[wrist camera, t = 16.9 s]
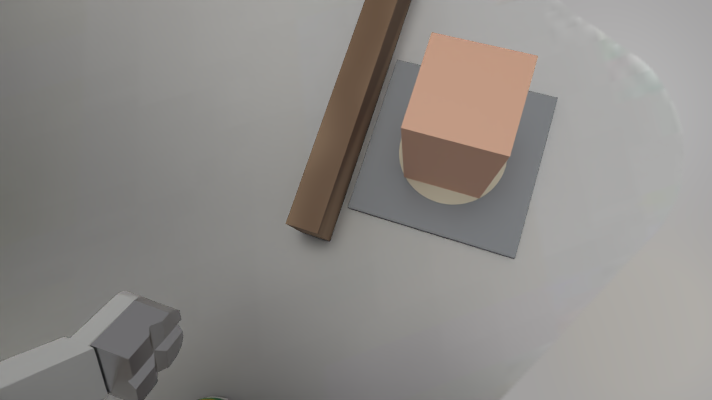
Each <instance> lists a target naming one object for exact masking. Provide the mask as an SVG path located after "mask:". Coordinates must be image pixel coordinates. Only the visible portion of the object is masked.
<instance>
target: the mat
mask: <svg viewBox="0 0 712 400" xmlns="http://www.w3.org/2000/svg"><path fill="white" fill-rule="evenodd" d="M420 67H421V65H418V64H413V63H409V62H405V61H401V60H397V62H396V65H395V68H394V71H393V74H392V77H391V80H390V83H389V86H388V89H387V92H386V95H385V98H384V101H383V104H382V107H381V110H380V113H379V116H378V119H377V122H376V125H375V128H374V131H373V134H372V136H371V139H370V142H369V145H368V148H367V151H366V154H365V157H364V160H363V163H362V166H361V169H360V172H359V175H358V178H357V181H356V184H355V187H354V190H353V193H352V196H351V199H350V202H349V205H348V208H350V209H353V210H356V211H360V212H363V213H366V214H369V215H373V216H376V217H379V218H383V219H386V220H389V221H392V222H396V223H399V224H402V225H405V226H409V227H412V228H415V229H418V230H422V231H425V232H428V233H432V234H435V235H438V236H441V237H445V238H448V239H451V240H454V241H458V242H461V243H464V244H468V245H471V246H474V247H477V248H481V249H484V250H487V251H490V252H494V253H497V254H500V255H503V256H507V257H510V258H513V259H514V258H515V256H516V252H517V248H518V245H519V241H520V237H521V233H522V230H523V226H524V222H525V218H526V215H527V211H528V207H529V203H530V200H531V196H532V192H533V188H534V185H535V181H536V177H537V173H538V170H539V166H540V162H541V158H542V155H543V151H544V147H545V143H546V140H547V136H548V132H549V128H550V125H551V121H552V117H553V113H554V110H555V106H556V102H557V97H552V96H548V95H544V94H540V93H535V92H531V91H528V94H527V97H526V101H525V105H524V108H523V112H522V115H521V119H520V123H519V126H518V130H517V133H516V137H515V141H514V144H513V148H512V151H511V155H510V157H509V159H508V160H507V161H506V163H505V164H504V165H503V167H502V168H501V170H500V171H499V172H498V174H497V175H496V176H495V178H494V179H493V180H492V182H491V183H490V184H489V186H488V187H487V189H486V190H485V191H484V193H483V194H482V195H481V197H480V198H476V197H472V196H469V195H465V194H462V193H458V192H455V191H451V190H448V189H444V188H441V187H437V186H434V185H430V184H427V183H423V182H420V181H416V180H413V179H409V178H405V177H404V171H403V154H402V138H401V126H402V123H403V120H404V117H405V113H406V110H407V107H408V104H409V101H410V98H411V95H412V92H413V89H414V86H415V83H416V79H417V76H418V73H419V70H420Z"/></svg>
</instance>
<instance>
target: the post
mask: <svg viewBox="0 0 712 400" xmlns="http://www.w3.org/2000/svg"><path fill="white" fill-rule="evenodd" d="M537 58H538V56H536V55H532V54H527V53H523V52H518V51H514V50H509V49H505V48H500V47H496V46H491V45H487V44H482V43H478V42H473V41H469V40H464V39H460V38H455V37H451V36H446V35H442V34H437V33H433V32H432V33H431V36H430V39H429V42H428V45H427V49H426V52H425V55H424V58H423V61H422V64H421V67H420V70H419V73H418V76H417V79H416V83H415V86H414V89H413V92H412V95H411V98H410V101H409V104H408V107H407V110H406V113H405V117H404V120H403V123H402V126H401V138H402V154H403V171H404V177H405V178H409V179H413V180H416V181H420V182H423V183H427V184H430V185H434V186H437V187H441V188H444V189H448V190H451V191H455V192H458V193H462V194H465V195H469V196H472V197H476V198H480V197H481V195H482V194H483V193H484V191H485V190H486V189H487V187H488V186H489V184H490V183H491V182H492V180H493V179H494V178H495V176H496V175H497V174H498V172H499V171H500V170H501V168H502V167H503V165H504V164H505V163H506V161H507V160H508V159H509V157H510V155H511V151H512V148H513V144H514V141H515V137H516V133H517V130H518V126H519V123H520V119H521V115H522V112H523V108H524V105H525V101H526V97H527V94H528V90H529V87H530V83H531V79H532V76H533V72H534V69H535V65H536V61H537Z"/></svg>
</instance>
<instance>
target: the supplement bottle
mask: <svg viewBox="0 0 712 400" xmlns="http://www.w3.org/2000/svg"><path fill="white" fill-rule="evenodd" d="M198 400H229V399H227V398H223V397H204V398H201V399H198Z"/></svg>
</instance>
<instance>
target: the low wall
mask: <svg viewBox="0 0 712 400" xmlns="http://www.w3.org/2000/svg"><path fill="white" fill-rule="evenodd" d="M410 2H411V0H365V2H364V5H363V8H362V10H361V13H360V16H359V19H358V22H357V24H356V27H355V30H354V33H353V36H352V38H351V41H350V44H349V47H348V50H347V53H346V55H345V58H344V61H343V64H342V67H341V69H340V72H339V75H338V78H337V81H336V83H335V86H334V89H333V92H332V95H331V98H330V100H329V103H328V106H327V109H326V112H325V114H324V117H323V120H322V123H321V126H320V128H319V131H318V134H317V137H316V140H315V143H314V145H313V148H312V151H311V154H310V157H309V159H308V162H307V165H306V168H305V171H304V173H303V176H302V179H301V182H300V185H299V187H298V190H297V193H296V196H295V199H294V202H293V204H292V207H291V210H290V213H289V216H288V218H287V221H286V224H287V225H289V226H291V227H293V228H295V229H297V230H299V231H300V232H302V233H305V234H309V235H312V236H315V237H318V238H321V239H324V240H327V241H330V239H331V236H332V233H333V230H334V228H335V225H336V222H337V219H338V216H339V213H340V210H341V207H342V204H343V201H344V198H345V195H346V192H347V189H348V186H349V183H350V180H351V177H352V174H353V171H354V168H355V165H356V162H357V159H358V156H359V153H360V150H361V147H362V144H363V141H364V139H365V136H366V133H367V130H368V127H369V124H370V121H371V118H372V115H373V112H374V109H375V106H376V103H377V100H378V97H379V94H380V91H381V88H382V85H383V82H384V79H385V76H386V73H387V70H388V67H389V64H390V61H391V58H392V55H393V52H394V50H395V47H396V44H397V41H398V38H399V35H400V32H401V29H402V26H403V23H404V20H405V17H406V14H407V11H408V8H409V5H410Z"/></svg>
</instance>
